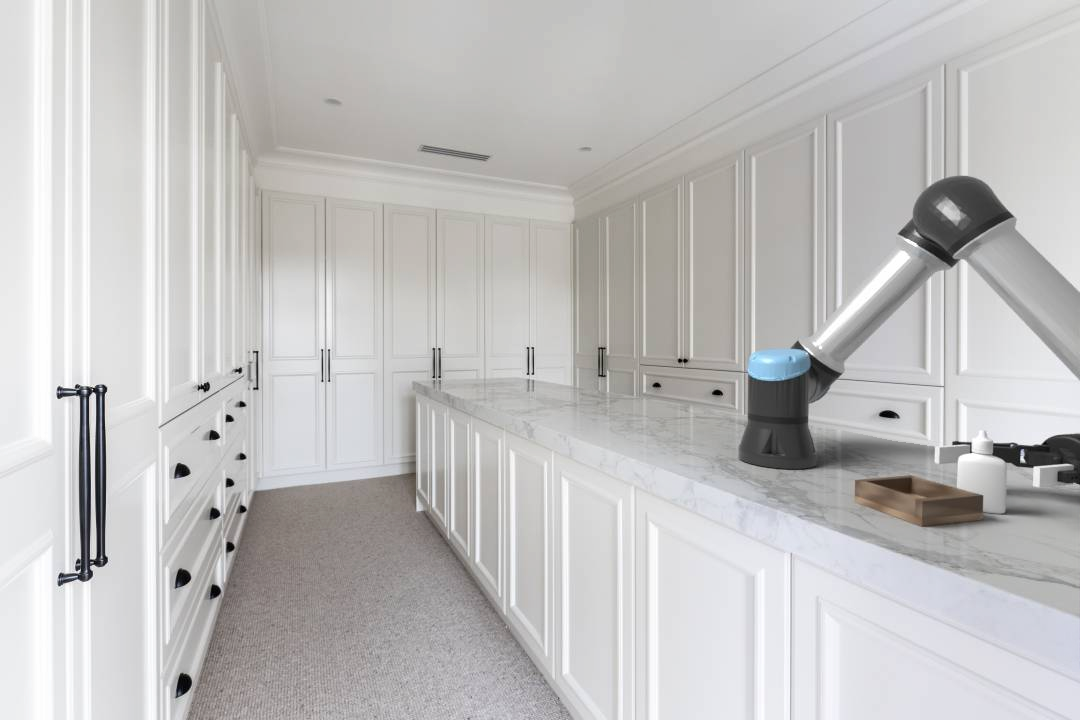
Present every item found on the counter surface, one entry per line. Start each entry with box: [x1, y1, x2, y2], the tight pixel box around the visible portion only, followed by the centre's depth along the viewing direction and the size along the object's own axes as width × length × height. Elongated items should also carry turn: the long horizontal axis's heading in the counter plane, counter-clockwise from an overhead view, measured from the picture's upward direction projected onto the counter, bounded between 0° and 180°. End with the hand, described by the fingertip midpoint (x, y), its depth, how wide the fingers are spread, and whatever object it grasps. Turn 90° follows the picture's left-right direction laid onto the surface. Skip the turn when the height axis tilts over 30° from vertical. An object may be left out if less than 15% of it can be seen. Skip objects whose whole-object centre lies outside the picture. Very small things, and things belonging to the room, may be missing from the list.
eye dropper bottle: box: [956, 429, 1008, 515], centre depth 77 cm, size 4×6×12 cm
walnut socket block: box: [854, 475, 984, 527], centre depth 77 cm, size 11×11×4 cm
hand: (982, 465), depth 77 cm, fingers open, 13 cm apart
